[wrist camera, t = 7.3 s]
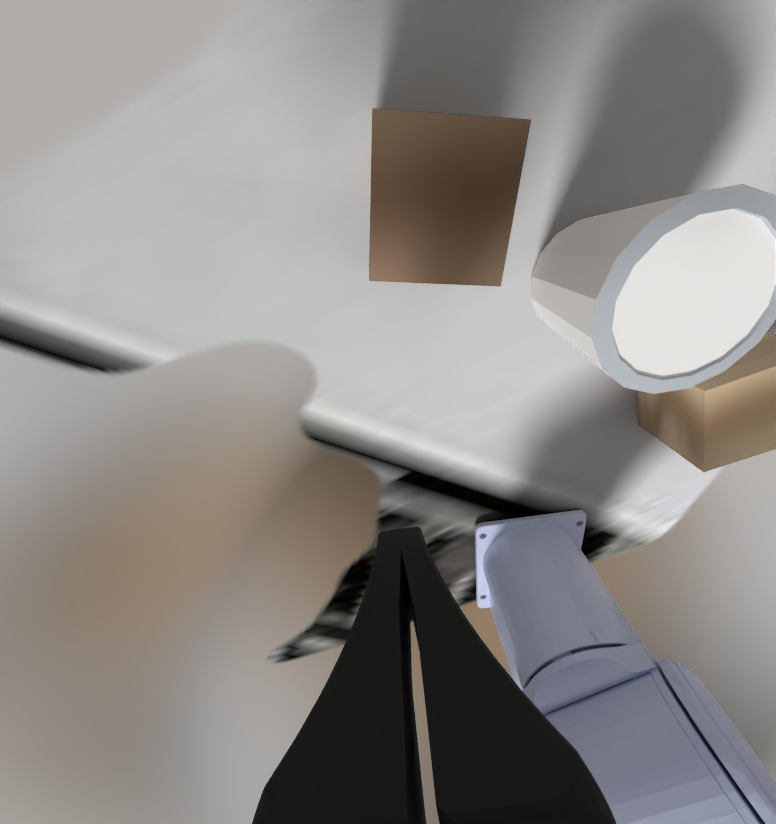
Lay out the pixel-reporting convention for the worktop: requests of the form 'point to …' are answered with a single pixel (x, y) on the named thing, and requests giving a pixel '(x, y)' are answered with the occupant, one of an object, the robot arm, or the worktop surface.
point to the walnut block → (443, 196)
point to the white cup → (664, 286)
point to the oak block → (719, 412)
